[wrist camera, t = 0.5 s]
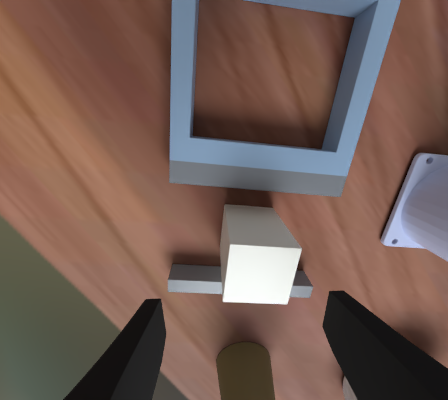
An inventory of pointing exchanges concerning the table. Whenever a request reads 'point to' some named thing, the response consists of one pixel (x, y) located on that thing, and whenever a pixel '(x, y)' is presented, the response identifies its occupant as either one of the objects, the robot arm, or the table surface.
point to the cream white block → (256, 256)
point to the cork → (245, 372)
